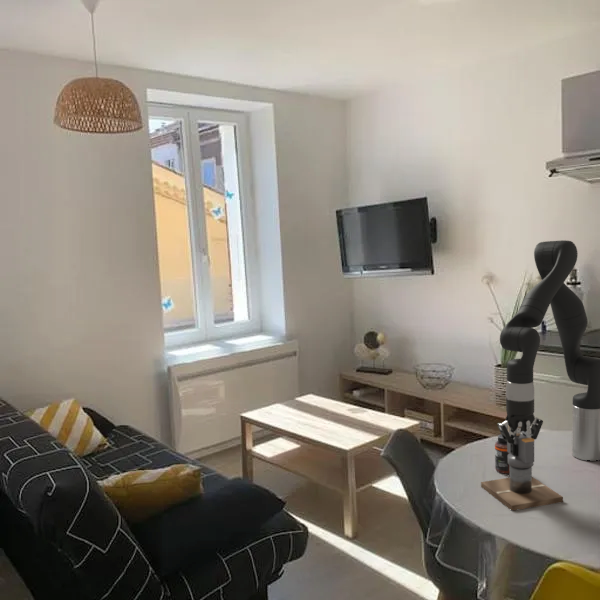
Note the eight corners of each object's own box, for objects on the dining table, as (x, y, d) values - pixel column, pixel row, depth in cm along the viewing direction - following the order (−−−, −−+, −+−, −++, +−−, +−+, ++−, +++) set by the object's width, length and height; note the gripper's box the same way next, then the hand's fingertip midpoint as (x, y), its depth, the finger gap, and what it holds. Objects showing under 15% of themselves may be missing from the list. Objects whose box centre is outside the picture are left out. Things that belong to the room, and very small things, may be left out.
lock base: (528, 479, 183) (528, 450, 182) (562, 501, 168) (563, 471, 167) (481, 486, 180) (480, 458, 178) (511, 510, 164) (511, 479, 163)
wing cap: (500, 459, 176) (500, 431, 175) (522, 456, 178) (521, 428, 177) (518, 471, 167) (518, 441, 166) (540, 467, 169) (540, 438, 168)
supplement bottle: (515, 467, 192) (514, 433, 191) (515, 475, 186) (515, 440, 185) (495, 466, 194) (495, 432, 193) (495, 473, 188) (494, 438, 187)
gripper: (533, 390, 175) (534, 447, 177) (490, 395, 172) (491, 453, 174) (550, 397, 168) (550, 456, 170) (505, 402, 165) (505, 463, 167)
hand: (520, 454), depth 172 cm, fingers closed on wing cap, 3 cm apart
